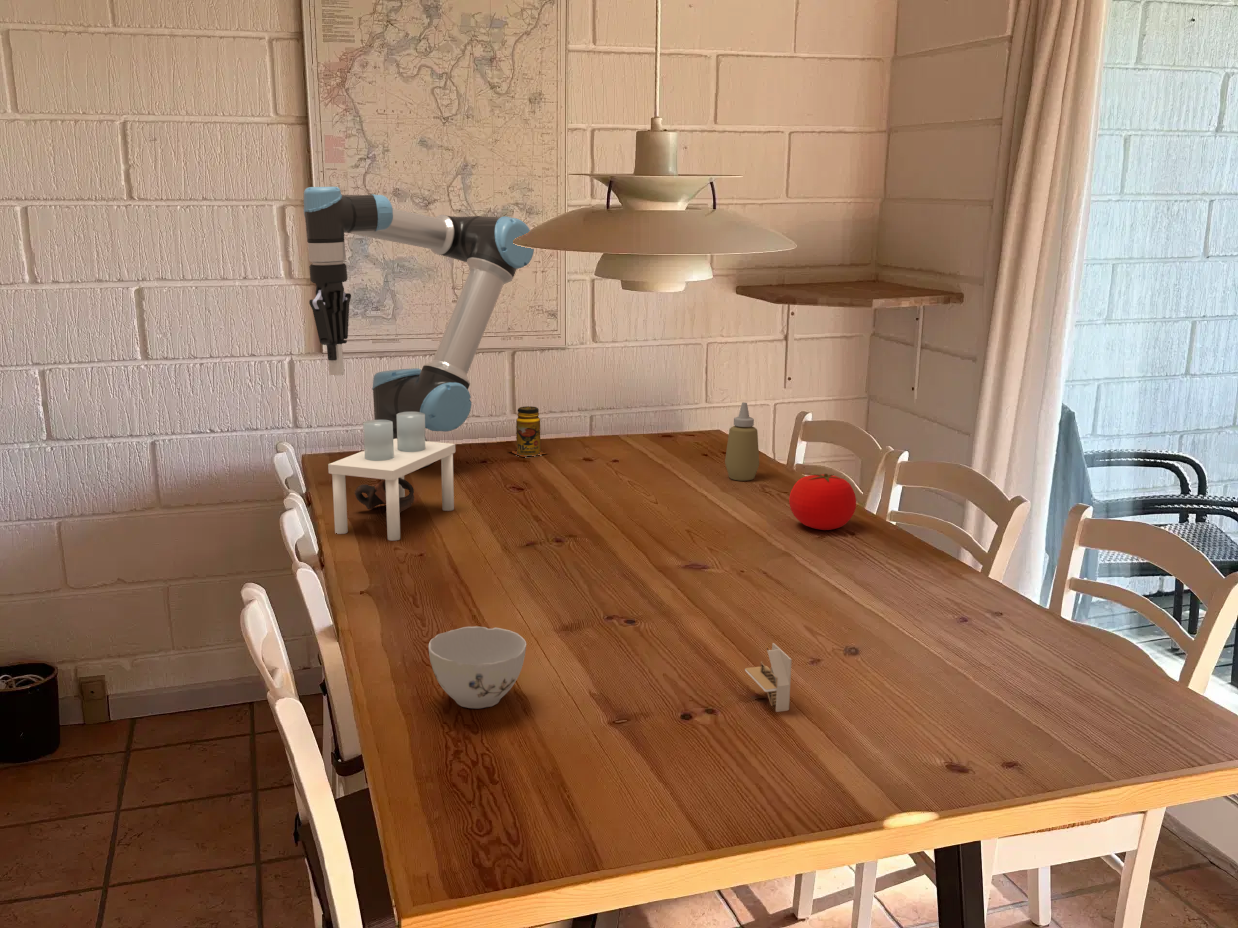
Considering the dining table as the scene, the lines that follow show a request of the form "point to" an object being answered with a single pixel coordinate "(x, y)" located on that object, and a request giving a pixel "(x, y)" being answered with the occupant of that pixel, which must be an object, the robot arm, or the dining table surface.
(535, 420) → the condiment
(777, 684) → the architectural model
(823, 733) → the dining table surface
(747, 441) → the squeeze bottle
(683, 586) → the dining table surface
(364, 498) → the pottery mug
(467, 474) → the dining table surface
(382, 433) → the tumbler
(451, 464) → the side counter
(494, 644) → the teacup
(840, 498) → the tomato
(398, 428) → the grey domed cylinder
